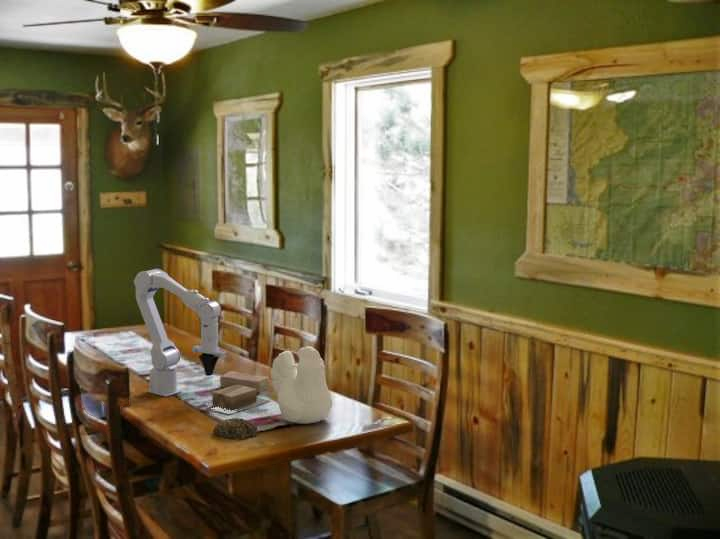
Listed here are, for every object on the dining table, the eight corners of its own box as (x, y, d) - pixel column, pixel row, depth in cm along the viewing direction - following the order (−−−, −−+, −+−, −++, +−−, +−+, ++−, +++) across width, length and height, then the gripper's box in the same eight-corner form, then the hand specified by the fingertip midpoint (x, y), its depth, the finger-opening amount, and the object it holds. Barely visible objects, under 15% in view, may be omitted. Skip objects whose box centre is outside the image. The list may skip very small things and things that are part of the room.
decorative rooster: (340, 424, 248) (342, 348, 244) (296, 432, 239) (298, 353, 236) (302, 403, 268) (304, 332, 265) (261, 410, 260) (261, 337, 257)
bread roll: (207, 434, 236) (207, 418, 236) (235, 424, 246) (235, 409, 246) (238, 443, 229) (238, 427, 229) (266, 432, 239) (266, 417, 239)
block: (212, 391, 264) (231, 396, 258) (237, 384, 273) (256, 389, 268) (212, 404, 264) (231, 410, 259) (237, 396, 274) (256, 401, 269)
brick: (270, 387, 288) (270, 375, 288) (259, 393, 281) (260, 380, 280) (230, 382, 294) (230, 370, 293) (219, 388, 286) (219, 375, 285)
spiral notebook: (205, 408, 260) (205, 408, 260) (247, 395, 277) (247, 394, 277) (229, 415, 254) (229, 414, 254) (270, 401, 270) (270, 400, 270)
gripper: (233, 337, 268) (232, 376, 270) (203, 331, 277) (202, 369, 278) (218, 341, 263) (217, 380, 264) (188, 334, 271) (188, 373, 273)
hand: (209, 375), depth 271 cm, fingers closed
